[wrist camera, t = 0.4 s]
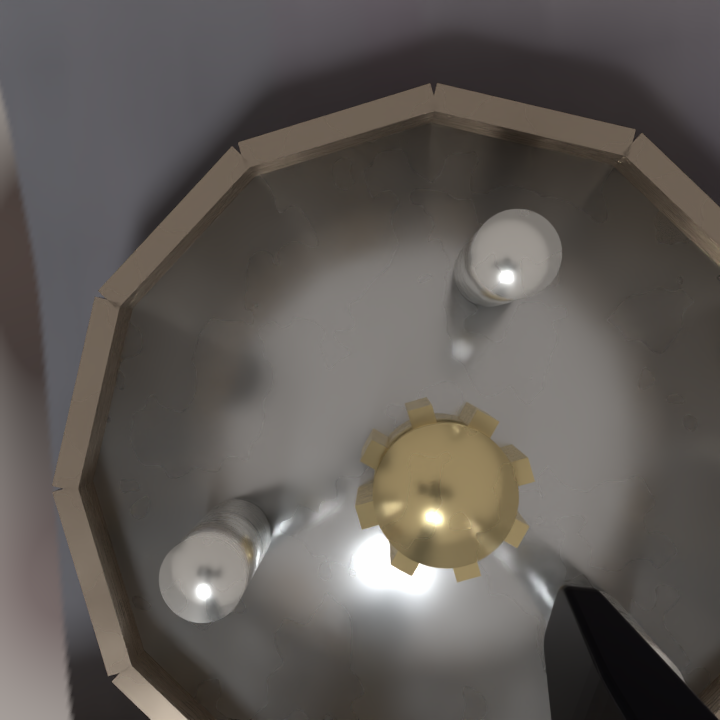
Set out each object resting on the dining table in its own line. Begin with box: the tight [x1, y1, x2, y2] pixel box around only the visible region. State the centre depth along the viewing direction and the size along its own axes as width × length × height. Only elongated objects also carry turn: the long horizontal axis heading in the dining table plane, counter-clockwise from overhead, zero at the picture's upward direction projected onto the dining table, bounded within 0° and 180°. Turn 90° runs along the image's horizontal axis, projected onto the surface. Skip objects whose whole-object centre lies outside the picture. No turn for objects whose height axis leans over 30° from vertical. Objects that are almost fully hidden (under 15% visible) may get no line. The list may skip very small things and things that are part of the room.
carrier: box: [52, 83, 720, 720], centre depth 18 cm, size 23×23×5 cm
